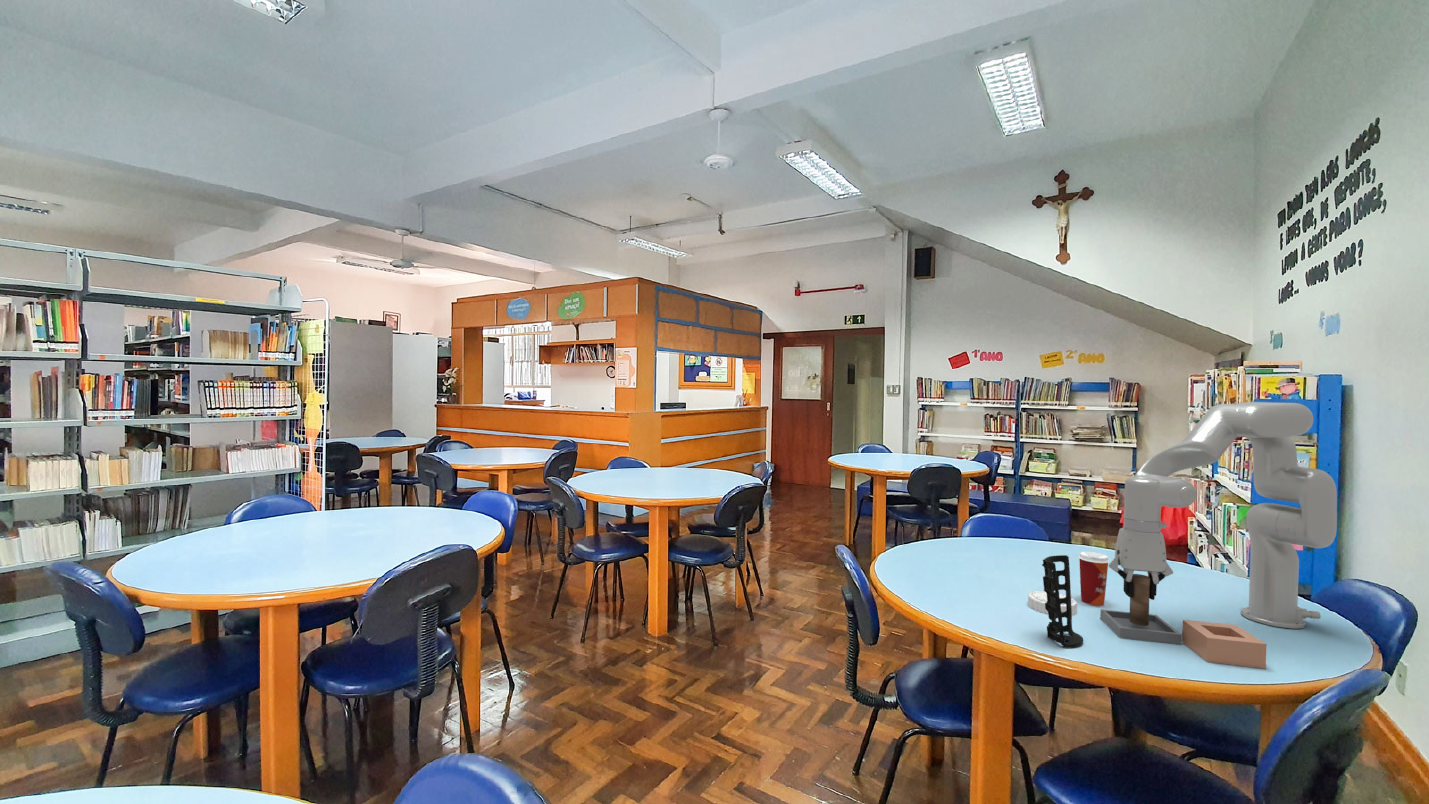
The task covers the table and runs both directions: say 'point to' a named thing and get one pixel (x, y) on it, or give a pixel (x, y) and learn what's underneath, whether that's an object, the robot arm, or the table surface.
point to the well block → (1224, 644)
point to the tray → (1140, 628)
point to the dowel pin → (1140, 600)
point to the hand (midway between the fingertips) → (1139, 596)
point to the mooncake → (1040, 598)
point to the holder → (1059, 602)
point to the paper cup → (1093, 577)
